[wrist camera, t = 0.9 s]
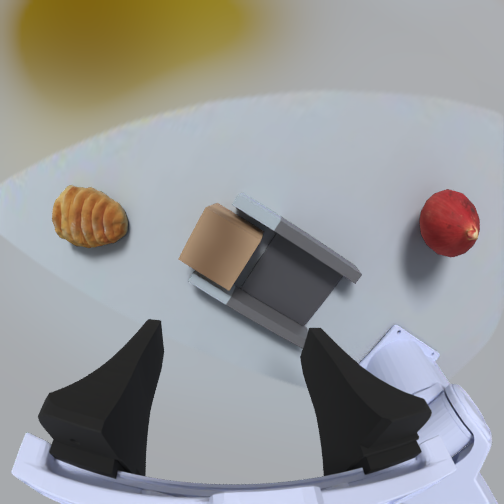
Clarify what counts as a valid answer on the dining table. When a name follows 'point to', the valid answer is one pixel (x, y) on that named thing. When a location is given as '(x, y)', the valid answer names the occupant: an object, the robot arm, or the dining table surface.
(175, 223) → the dining table surface
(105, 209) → the pastry
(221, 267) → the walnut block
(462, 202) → the pomegranate
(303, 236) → the grey i-beam block
